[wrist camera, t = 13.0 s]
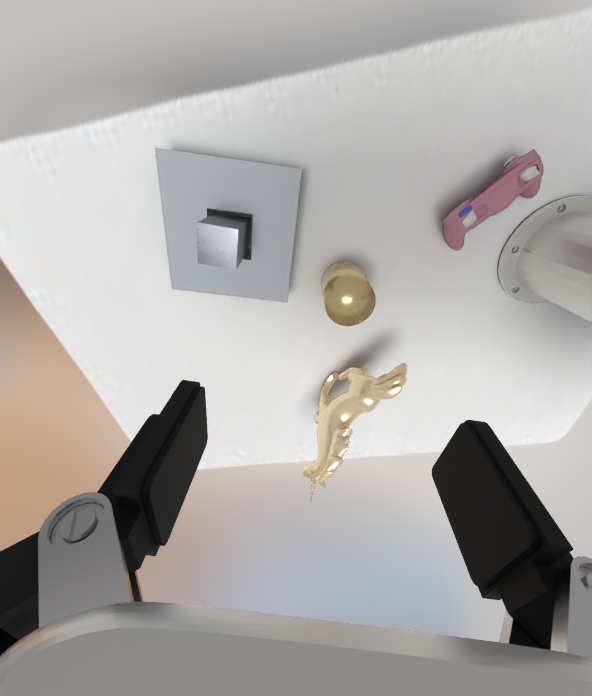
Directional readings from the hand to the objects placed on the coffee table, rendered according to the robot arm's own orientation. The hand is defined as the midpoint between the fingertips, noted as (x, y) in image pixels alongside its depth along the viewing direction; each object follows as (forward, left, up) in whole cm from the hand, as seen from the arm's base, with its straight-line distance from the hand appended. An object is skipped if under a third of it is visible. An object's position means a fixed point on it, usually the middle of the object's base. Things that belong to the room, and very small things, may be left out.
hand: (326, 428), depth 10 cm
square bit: (+9, -1, -29) cm, 30 cm away
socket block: (+9, -1, -29) cm, 30 cm away
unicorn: (-8, +19, -29) cm, 36 cm away
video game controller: (-19, -7, -29) cm, 36 cm away
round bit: (-5, +4, -29) cm, 30 cm away
